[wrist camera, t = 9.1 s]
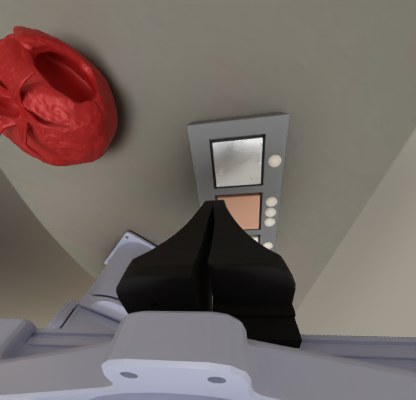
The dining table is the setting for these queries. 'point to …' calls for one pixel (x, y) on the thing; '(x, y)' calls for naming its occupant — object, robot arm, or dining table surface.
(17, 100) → the red hollow rounded sculpture
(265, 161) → the button panel
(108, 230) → the dining table surface
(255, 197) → the button three dot
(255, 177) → the button one dot
